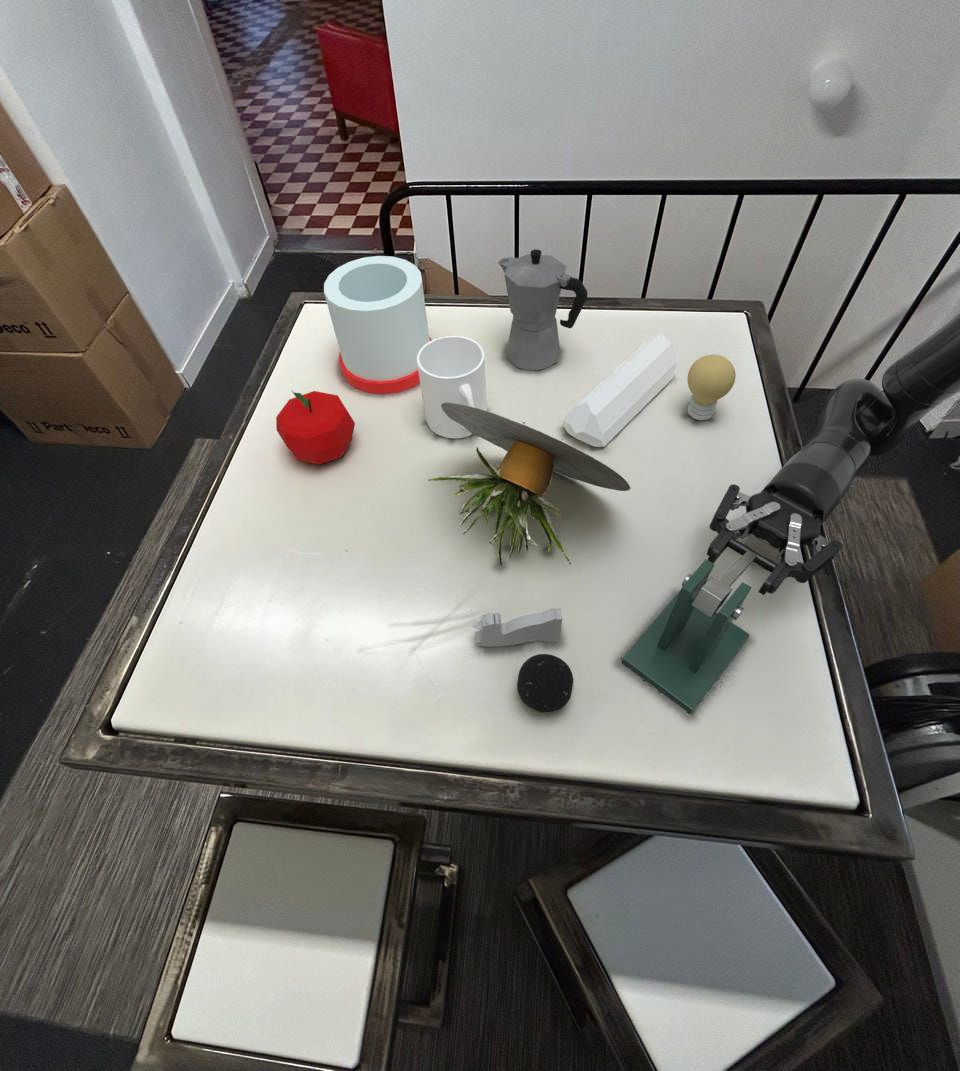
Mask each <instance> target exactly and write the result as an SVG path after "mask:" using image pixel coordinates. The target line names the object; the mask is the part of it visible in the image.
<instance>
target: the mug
mask: <svg viewBox="0 0 960 1071" xmlns="http://www.w3.org/2000/svg"><path fill="white" fill-rule="evenodd" d="M431 340H432V341H430V342H428V343H427V344H425V345H424V346H423V347H422V348H421V349H420V350H419V353H418V355H417V365H418V372H419V379H420V383H419V385H420V391H421V398H422V404H423V412H424V417H425V420H426V423H427V427H428V428H430V430H431V431H432V432H433V433H435V435H438V436H441V437H442V438H447V439H463V438H467V437H469V436H471V435H473V434H472V433H471V432H469V431H468V430H467V429H466V428H465V427H463V426H462V425H460V424H459V423H457V422H455V421H453V420H452V419H450V418H449V417H448V416H447V415H446V413H445V412H444V411H443V409H442V407H441V405H442V404H443V403H455V404H461V405H465V406H469V407H473V408H478V409H481V410H484V411H488V408H487V407H488V406H487V386H486V385H487V383H486V359H485V350H484V349H483V347H482V345H481V344H479V342H478V341H476V340H474V339H472V338H470V337H466V336H463V335H446V336H440V337H437V338H435V339H431Z"/></svg>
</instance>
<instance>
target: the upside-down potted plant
mask: <svg viewBox="0 0 960 1071" xmlns="http://www.w3.org/2000/svg"><path fill="white" fill-rule="evenodd" d="M441 407H442V409H443V411H444V412H445V413H446V415H447V416H448V417H449V418H450V419H452V420H453V421H455V422H457V423H459V424H460V425H462V426H463V427H465V428H466V429H467V430H468V431H469V432H471V433H472V435H473V436H476V437H480V438H481V439H483V440H484V441H487V442H488V443H491V444H492V445H494V446H496V447H498V448H501V449H502V450H504V451H505V452H506V453H505V454H504V456H503V458H502V460H501V462H500V463H499V465H498V467H497V468H496V467H494V466H493V465H492V464H491V463H490V462H489V461H488V460H487V459H486V457H485V456H484V455H483V454H482V452H481V451H480V449H479V447H477V446H476V450H475V452H476V454H477V456H478V459H479V460H480V462H481V464H482V465H483V466H484V467H485V469H486V470H487V471H488V473H490V474H485V473H468V474H455V475H450V476H444V477H443V476H442V477H441V476H440V477H434V478H428V479H427V481H428V482H433V481H434V482H437V481H440V482H443V481H455V482H466V483H464V484H460V485H459V486H458V488H459V489H460V490H458V491H457V492H456V493H454V494H453V497H454V498H455V497H458V496H461V495H463V494H464V493H467V492H469V491H471V490H472V491H473V490H474V489H478V488H481V489H479V490H477V492H475V493H474V494H473V495H472V496H471V497H470V498H469V499H467V500H466V501H465V502H464V503H463V505H462V506H461V510H460V511H459V515H463V514H464V513H466V515H465V516H464V517H463V518H462V519H461V521H460V522H459V526H462V525H463V524H464V523H465V521H467V519H468V518H469V517H471V516H472V515H473V514H474V513H475V512H476V511H477V510H479V509H480V510H479V513H478V514H477V515H476V517H475V518H474V519H473V522H472V523H471V524H470V525H469V526H468V528H466V529H464V530H463V532H462V536H465V535H466V533H467V532H468V531H469V530H470V529H471V528H472V527H473V526H474V525H475V524H476V522H478V520H479V519H480V518H481V516H483V515H486V519H485V526H484V528H483V530H486V529H487V527H488V523H489V521H490V516H491V514H492V511H494V510H496V516H495V522H494V523H495V524H494V532H493V536H492V538H491V539H489V541H488V542H489V545H491V547H492V548H494V547H495V545H496V543H498V546H497V548H498V549H497V554H498V563H499V566H500V567H502V566H503V561H502V559H503V558H502V544H503V542H502V541H504V535H505V531H506V530H507V529H508V528H510V540H509V548H510V550H509V554H508V560H511V557H512V555H513V552H514V550H515V547H516V546H517V543H518V548H517V554H518V555H519V554H520V552H521V550H522V548H523V543H524V542H525V543H524V549H525V551H527V552H528V551H529V545H528V543H530V544H531V545H533V546H535V547H538V544H537V543H536V542H535V540H534V539H533V538H532V536H530V534H529V531H528V530H529V525H528V523H529V522H528V521H529V519H528V517H527V514H528V511H529V516H530V517H531V518H533V520H534V521H537V522H539V524H540V526H541V528H542V529H543V531H544V533H545V535H546V538H547V540H548V542H549V543H548V548H547V553H550V551H551V549H552V546H553V543H554V544H555V546H556V548H558V550H559V551H560V552H561V553H562V555H563V557H564V559H565V560H566V561H567V562H568V565H572V562H571V561H570V559H569V558H568V556H567V555H566V553H565V550H564V548H563V545H562V543H561V541H560V538H559V535H558V533H557V532H556V529H555V526H554V524H553V522H552V519H551V517H550V514H549V513H548V512H547V511H546V509H547V510H549V511H550V512H553V513H555V514H556V515H557V516H559V517H560V516H562V514H561V510H560V509H559V508H558V507H556V506H555V505H554V504H553V503H552V502H550V501H549V500H546V499H545V498H544V497H543V496H544V495H545V494H546V492H547V491H548V488H549V486H550V485H551V481H552V477H553V472H554V473H557V474H560V475H562V476H563V477H566V478H569V479H572V480H575V481H579V482H582V483H586V484H588V485H592V486H594V487H598V488H603V489H608V490H613V491H620V492H627V491H630V490H631V485H630V483H629V482H628V481H627V480H626V479H625V478H624V477H623V476H622V475H621V474H619V473H618V472H617V471H615V470H614V469H612V468H611V467H610V466H608V465H606V464H604V462H602V461H599V460H598V459H596V458H595V457H592V456H591V455H589V454H587V453H585V452H583V451H581V450H579V449H578V448H576V447H573V446H572V445H570V444H567V443H565V442H563V440H564V438H561V440H562V441H561V440H560V439H557V438H555V437H552V436H550V435H548V434H546V433H543V432H542V431H540V430H537V429H535V428H533V427H530V426H528V425H526V422H523V421H521V422H522V423H520V422H517V421H515V420H511V419H509V418H507V417H504V416H501V415H499V414H496V413H494V412H490V411H488V410H487V411H484V410H481V409H478V408H473V407H469V406H465V405H461V404H455V403H443V404H442V405H441ZM482 487H483V488H482ZM471 508H472V509H471ZM470 509H471V511H470ZM503 512H504V513H505V512H506V515H505V517H504V520H503V524H502V526H501V528H500V524H501V520H502V517H503ZM499 528H500V530H499ZM497 538H498V542H497V541H496V540H497ZM518 539H519V542H518Z"/></svg>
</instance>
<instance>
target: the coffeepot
mask: <svg viewBox="0 0 960 1071" xmlns="http://www.w3.org/2000/svg"><path fill="white" fill-rule="evenodd" d="M542 253H543V252H542V250H540V249H536V248H534V249H532V250H530V253H527V254H525V255H523V256H520V257H507V258H506V257H504V258H502V259H500V260H499V261H498V262H497V264H498V265H499V266H500V267H501V269H502V271H503V273H504V282H505V287H506V293H507V300H508V305H509V311H510V313H511V314H512V321H511V325H510V332H509V335H508V336H509V338H508V342H507V349H506V354H505V358H507V360H508V361H509V362H510V363H511V365H512V366H514V367H516V368H518V369H520V370H523V371H524V370H525V371H531V372H532V371H533V372H534V371H541V370H546V369H549V367H552V366H553V365H554V364H555V363H557V362H558V359H559V355H560V350H561V346H560V338H559V330H558V322H557V318H556V315H557V311H558V306H559V300H560V296H561V292H562V290H564V291H571V292H574V295H575V297H574V299H573V302H572V306H571V308H570V310H569V311H568V314H567V315H568V317H567V320H564V319H561V318H560V320H559V325H560V326H561V327H563V328H566V329H572V328H574V325H575V324H576V321H577V319H578V318H579V315H580V314H581V312H582V309H583V308H584V306H585V304H586V303H587V299H588V294H589V293H588V290H587V288H586V287H585V285H584V283H583V282H582V280H580V279H579V278H576V277H572V275H571V274H567V273H566V270H567V265H566V264H564V263H563V262H562V261H560V260H558V259H557V258H556V257H555V256H553V255H546V254H542Z"/></svg>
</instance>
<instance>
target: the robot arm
mask: <svg viewBox="0 0 960 1071" xmlns="http://www.w3.org/2000/svg"><path fill="white" fill-rule="evenodd" d="M881 387H882V390H881V388H880V387H879V386H878V385H876V384H875V383H874V382H872V381H871V380H868V379H866V378H852V379H848V380H846V381H844V382H842V383H840V384H839V385H837V386H836V387H835V388H834V389H833V390H832V391H831V392H830V393H829V394H828V396H827V398H825V400H824V402H823V404H822V406H821V409H820V411H819V414H818V417H817V421H816V424H815V427H814V431H813V434H812V436H811V437H810V438H809V439H808V440H807V441H806V443H804V445H803V446H801V448H800V450H798V451H797V452H796V453H795V454H793V455H792V456H791V457H790V458H789V459H787V461H786V463H785V464H784V465H783V466H782V467H781V469H780V470H778V472H777V473H776V474H775V475H774V476H773V478H772V479H771V480H770V481H769V482H768V483H767V484H766V486H764V488H763V489H762V490H761V491H760V492H758V493H756V494H752V495H748V494H746V493H742V492H740V490H741V488H740V486H739V485H737V484H730V485H729V486H728V489H727V490H726V492H725V494H724V496H723V498H722V499H721V501H720V503H719V505H718V507H717V509H716V511H715V513H714V515H713V517H712V519H711V522H710V524H709V529H710V530H711V531H713V532H714V533H715V532H716V533H717V535H716V536H715V537H714V539H713V540H712V541H711V542H710V543H709V545H708V548H707V550H706V555H707V556H708V558H707V560H708V561H710V562H711V563H713V564H714V565H715V563H716V561H718V559H719V558H720V557H721V556H722V554H723V553H724V552H725V551H726V550H727V549H728V547H727V543H728V542H729V540H730V539H731V538H732V537H733V538H735V539H736V540H739V539H741V540H744V539H746V538H749V537H751V536H753V537H755V538H757V539H758V540H762V541H764V542H766V543H767V545H769V546H770V547H772V548H774V549H776V550H777V557H776V561H778V562H777V564H778V565H777V566H776V568H775V569H774V570H773V571H772V573H770V574H769V575H768V576H767V578H766V579H765V580H764V582H763V583H762V585H761V587H760V588H759V589H758V591H757V593H759V594H760V595H762V596H765V595H766V594H767V593H768V594H769V595H773V594H775V593H776V592H777V590H779V588H780V587H781V585H782V584H783V583H784V582H785V580H786V579H787V578H794V579H795V581H796V582H797V583H799V584H805V583H807V582H808V581H809V580H810V579H811V578H813V577H814V576H815V575H816V574H817V573H819V572H820V571H821V570H823V569H824V568H825V567H826V566H827V565H829V564H830V563H831V562H832V561H833V560H834V559H835V557H836V556H837V555H838V553H839V552H840V551H841V550H842V548H843V544H842V542H840V541H839V540H836V539H833V540H831V541H830V540H828V539H827V538H826V537H824V536H823V535H821V532H822V531H821V527H822V525H823V524H825V521H826V520H827V519H828V517H829V516H830V515H831V514H832V512H833V511H834V509H835V508H836V507H838V506H839V505H840V504H841V501H842V499H843V498H844V497H845V495H846V494H847V493H848V491H849V489H850V487H851V485H852V483H853V481H854V480H855V479H856V477H857V476H858V475H859V473H860V472H861V470H862V469H863V468H864V467H865V466H866V464H867V463H868V461H869V459H870V457H871V456H880V455H884V454H887V453H889V452H890V451H892V450H893V449H894V448H896V447H897V446H898V445H899V444H900V443H901V442H902V441H903V439H904V438H906V436H908V434H909V433H910V431H911V430H912V429H913V428H914V426H915V425H916V424H917V423H918V422H919V421H920V420H921V419H922V418H923V417H924V416H927V415H928V413H930V411H933V409H934V408H936V407H937V406H939V405H941V404H942V403H944V402H946V401H947V400H949V399H951V398H952V397H954V396H956V395H957V394H959V393H960V312H959V313H958V314H957V315H955V316H954V317H953V318H952V319H951V320H950V321H948V322H947V323H946V324H944V325H943V326H942V327H940V328H939V329H938V330H936V332H934V333H933V334H931V335H930V336H928V337H927V338H925V339H924V340H923V341H921V342H920V343H919V344H917V345H916V346H915V347H913V348H912V349H911V350H909V351H908V352H907V353H905V354H904V355H902V356H901V357H900V358H898V359H897V360H896V361H895V362H893V363H891V365H890V366H888V368H887V369H886V370H885V372H884V373H883V375H882V378H881ZM742 506H743V507H745V512H746V513H744V514H742V516H741V517H739V518H736V519H734V520H731V521H729V519H727V517H728V515H729V513H730V511H732V512H733V511H735V510H739V508H740V507H742ZM810 545H813V550H812V553H813V556H812V557H810V558H809V559H807V560H806V561H805V562H801V561H798V555H799V554H798V553H799V549H800V547H804V546H810Z"/></svg>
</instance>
